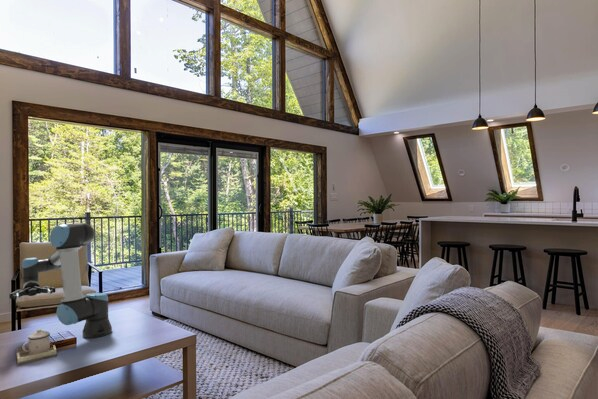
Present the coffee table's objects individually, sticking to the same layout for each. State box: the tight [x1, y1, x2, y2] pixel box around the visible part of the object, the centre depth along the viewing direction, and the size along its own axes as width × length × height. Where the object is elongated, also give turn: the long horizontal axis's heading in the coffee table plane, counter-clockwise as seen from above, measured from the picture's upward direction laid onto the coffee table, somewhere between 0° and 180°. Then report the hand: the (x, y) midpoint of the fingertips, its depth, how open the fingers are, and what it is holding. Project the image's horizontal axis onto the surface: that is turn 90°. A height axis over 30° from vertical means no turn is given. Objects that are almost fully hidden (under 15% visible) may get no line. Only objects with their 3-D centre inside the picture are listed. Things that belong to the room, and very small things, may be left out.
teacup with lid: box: [21, 328, 51, 355], centre depth 190 cm, size 12×9×12 cm
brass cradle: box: [16, 344, 58, 363], centre depth 187 cm, size 8×16×2 cm, turn 128°
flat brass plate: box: [15, 346, 58, 366], centre depth 192 cm, size 20×16×1 cm
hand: (34, 296), depth 197 cm, fingers open, 13 cm apart
